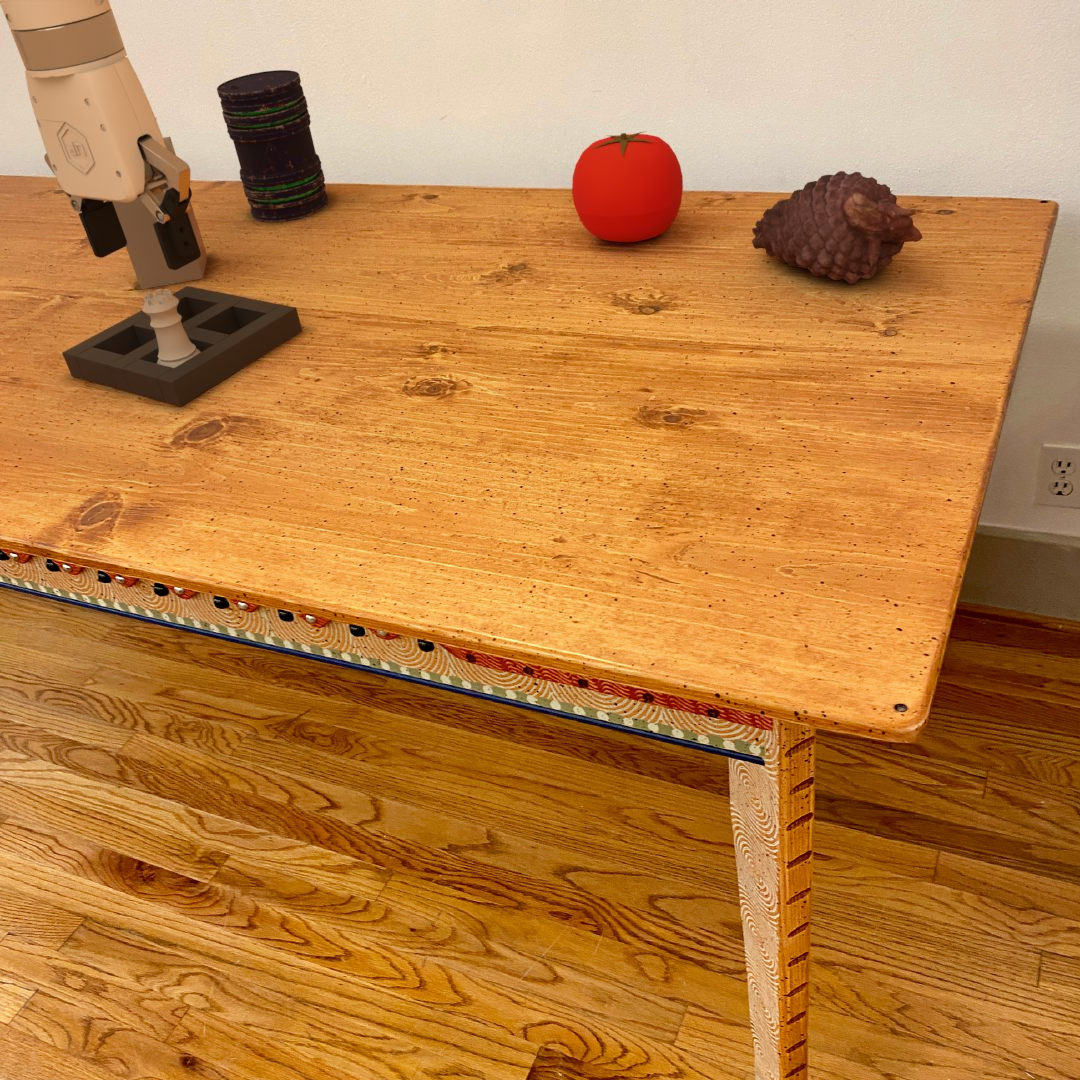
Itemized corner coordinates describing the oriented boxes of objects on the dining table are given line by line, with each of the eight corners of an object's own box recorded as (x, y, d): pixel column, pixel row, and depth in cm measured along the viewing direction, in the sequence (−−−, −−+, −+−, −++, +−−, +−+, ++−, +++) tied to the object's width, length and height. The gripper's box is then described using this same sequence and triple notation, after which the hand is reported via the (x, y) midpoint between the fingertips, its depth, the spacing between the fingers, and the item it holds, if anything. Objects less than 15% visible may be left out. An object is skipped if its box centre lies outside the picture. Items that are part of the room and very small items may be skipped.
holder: (71, 376, 103) (61, 352, 101) (194, 308, 113) (187, 285, 111) (180, 407, 95) (171, 382, 94) (302, 331, 105) (296, 307, 103)
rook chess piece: (152, 378, 100) (122, 298, 96) (195, 359, 103) (168, 280, 98) (174, 392, 97) (145, 310, 93) (218, 372, 100) (191, 291, 95)
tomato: (684, 211, 118) (680, 111, 112) (685, 255, 109) (680, 148, 102) (581, 219, 120) (571, 121, 114) (573, 263, 110) (562, 159, 104)
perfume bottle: (207, 256, 125) (156, 92, 114) (202, 278, 119) (148, 109, 109) (148, 266, 124) (91, 103, 114) (141, 289, 119) (80, 120, 108)
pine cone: (720, 279, 103) (731, 172, 102) (783, 296, 109) (794, 195, 109) (886, 268, 90) (900, 144, 89) (947, 287, 96) (961, 172, 95)
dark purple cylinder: (319, 187, 140) (290, 65, 131) (339, 208, 133) (309, 80, 124) (243, 206, 138) (208, 82, 129) (259, 228, 130) (223, 99, 121)
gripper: (-36, 57, 85) (51, 263, 95) (101, 59, 76) (181, 287, 86) (44, 32, 90) (119, 231, 100) (182, 32, 81) (249, 250, 91)
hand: (148, 257), depth 93 cm, fingers open, 9 cm apart
